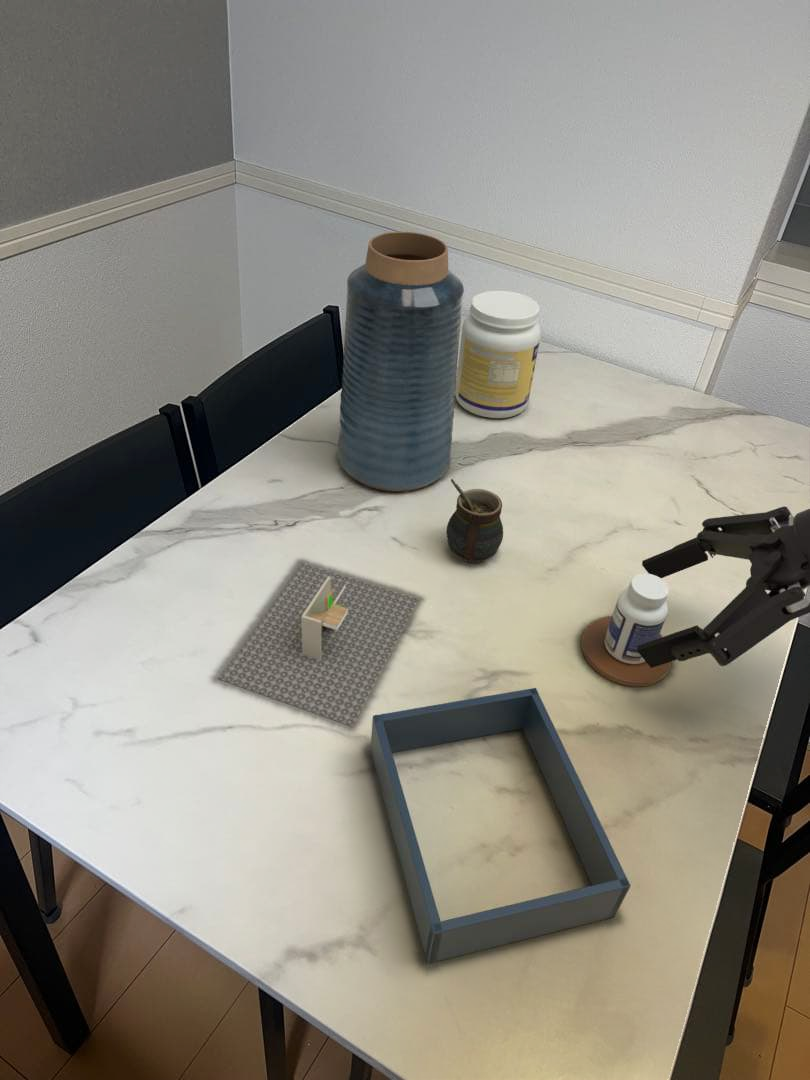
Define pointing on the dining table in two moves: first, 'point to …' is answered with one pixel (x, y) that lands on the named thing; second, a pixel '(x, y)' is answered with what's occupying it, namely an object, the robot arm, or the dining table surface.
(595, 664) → the coaster
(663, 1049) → the dining table surface
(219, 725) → the dining table surface
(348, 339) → the vase
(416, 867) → the blue bottomless tray frame
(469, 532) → the mate gourd
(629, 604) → the pill bottle
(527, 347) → the supplement tub
